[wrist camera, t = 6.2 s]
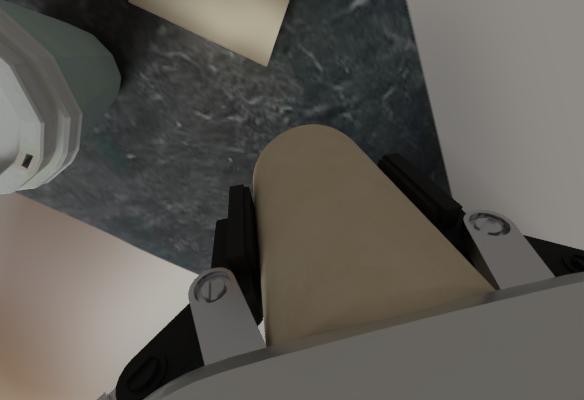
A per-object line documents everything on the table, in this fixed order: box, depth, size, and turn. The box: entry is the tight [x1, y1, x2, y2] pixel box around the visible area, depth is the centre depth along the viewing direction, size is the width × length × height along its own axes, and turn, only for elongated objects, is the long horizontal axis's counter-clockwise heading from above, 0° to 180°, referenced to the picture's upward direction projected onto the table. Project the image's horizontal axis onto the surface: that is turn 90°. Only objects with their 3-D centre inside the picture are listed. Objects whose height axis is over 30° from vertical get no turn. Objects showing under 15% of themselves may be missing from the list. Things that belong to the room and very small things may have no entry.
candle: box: [253, 124, 496, 347], centre depth 9 cm, size 6×6×10 cm
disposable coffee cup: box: [0, 0, 121, 194], centre depth 17 cm, size 11×11×15 cm
